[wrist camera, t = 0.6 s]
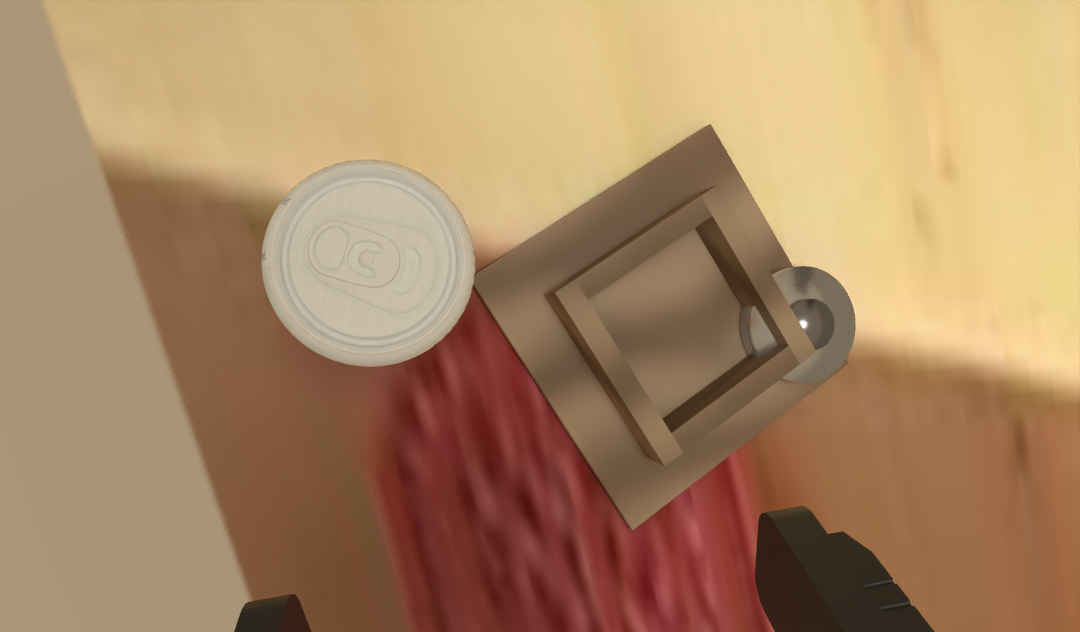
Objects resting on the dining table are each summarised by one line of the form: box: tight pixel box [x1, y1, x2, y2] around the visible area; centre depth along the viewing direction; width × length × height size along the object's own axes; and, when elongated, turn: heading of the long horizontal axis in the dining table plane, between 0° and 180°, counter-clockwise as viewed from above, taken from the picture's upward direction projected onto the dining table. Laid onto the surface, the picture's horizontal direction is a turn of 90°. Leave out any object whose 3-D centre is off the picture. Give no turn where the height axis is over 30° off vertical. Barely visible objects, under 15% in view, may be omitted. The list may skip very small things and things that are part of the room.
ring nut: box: [739, 266, 855, 383], centre depth 36 cm, size 6×6×3 cm
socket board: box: [473, 124, 848, 530], centre depth 35 cm, size 16×16×3 cm
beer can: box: [262, 160, 475, 367], centre depth 25 cm, size 6×6×15 cm
